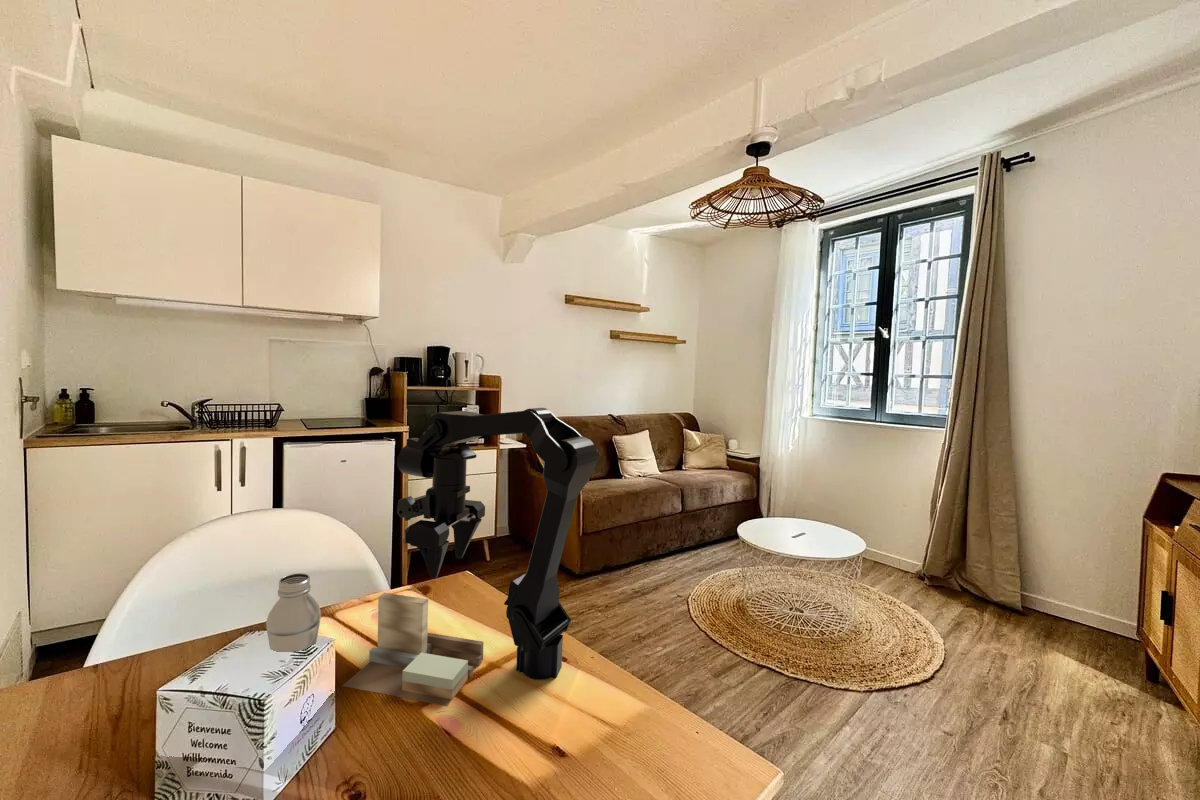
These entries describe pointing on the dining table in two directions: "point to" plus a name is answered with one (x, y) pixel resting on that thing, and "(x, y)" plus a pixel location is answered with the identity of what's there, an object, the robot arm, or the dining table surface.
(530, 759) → the dining table surface
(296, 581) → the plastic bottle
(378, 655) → the walnut rack
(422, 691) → the oak offcut
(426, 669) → the sage offcut
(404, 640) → the birch sheet
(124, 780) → the dining table surface
